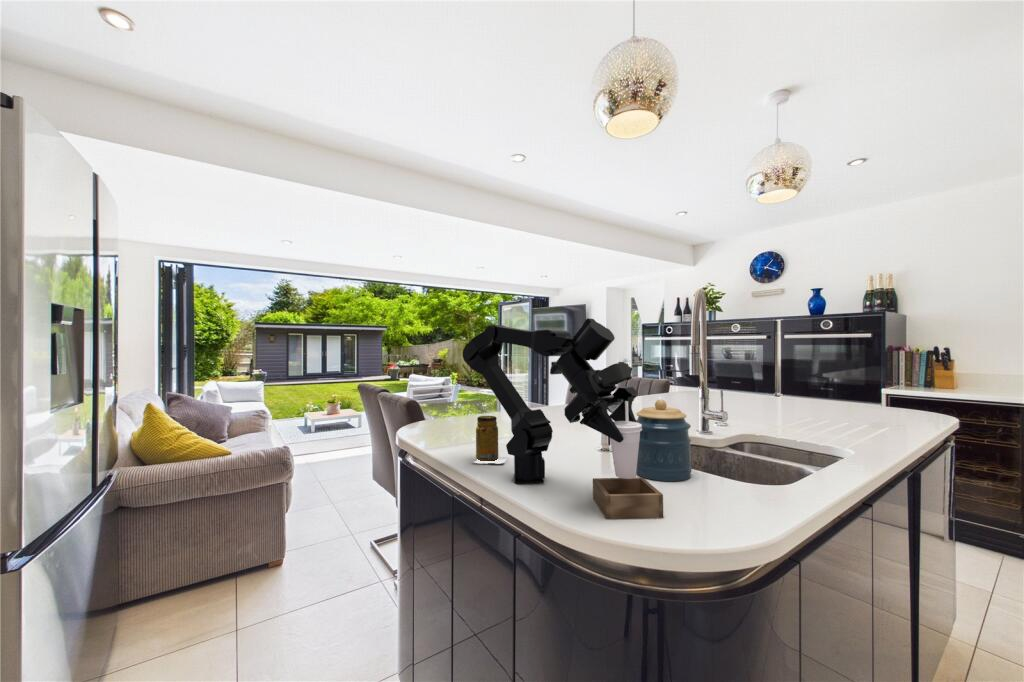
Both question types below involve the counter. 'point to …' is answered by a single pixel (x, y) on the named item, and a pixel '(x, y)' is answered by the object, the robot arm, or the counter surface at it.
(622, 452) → the smoothie
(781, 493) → the counter surface
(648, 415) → the canister
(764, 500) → the counter surface
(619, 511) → the wooden box
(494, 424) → the condiment
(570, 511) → the counter surface
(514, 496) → the counter surface
